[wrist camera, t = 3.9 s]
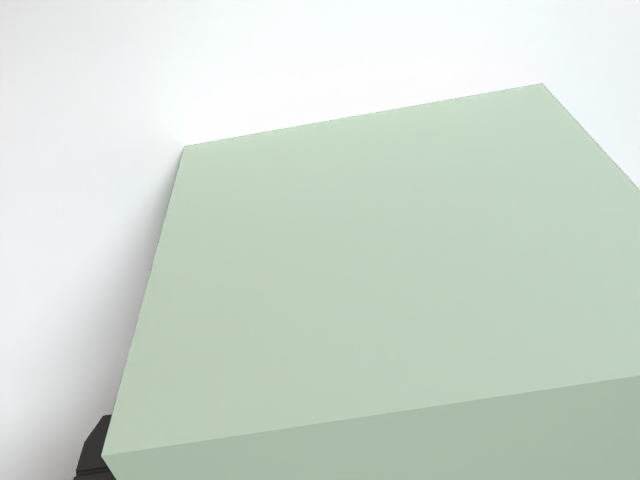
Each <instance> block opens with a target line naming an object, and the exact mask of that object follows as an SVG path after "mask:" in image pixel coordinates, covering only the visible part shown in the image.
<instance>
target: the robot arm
mask: <svg viewBox="0 0 640 480" xmlns="http://www.w3.org/2000/svg"><path fill="white" fill-rule="evenodd" d="M111 417H112V415H105V416H103V417H102V418H101V420H100V421H99V422H98V424H97V425H96V427H95V428H94V430H93V431H92V432H91V434H90V435H89V437H88V438H87V440H86V441H85V442H84V446H83V449H82V452H81V456H80V459H79V462H78V466H77V469H76V477H74V479H73V480H116V478H115V477H114V475H113V473H112V472H111V470H110V469H109V467H108V466H107V464H106V463H105V461H104V460H103V458H102V457H101V454H102V451H103V447H104V443H105V439H106V436H107V432H108V428H109V425H110V421H111Z"/></svg>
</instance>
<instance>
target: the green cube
mask: <svg viewBox="0 0 640 480" xmlns="http://www.w3.org/2000/svg"><path fill="white" fill-rule="evenodd" d="M101 457H102V458H103V460H104V461H105V463H106V464H107V466H108V467H109V469H110V470H111V472H112V473H113V475H114V477H115V478H116V480H640V190H639V188H638V187H637V186H636V185H635V184H634V183H633V182H632V181H631V180H630V179H629V177H628V176H627V175H626V174H625V173H624V172H623V171H622V170H621V169H620V168H619V167H618V165H617V164H616V163H615V162H614V161H613V160H612V159H611V158H610V157H609V156H608V155H607V153H606V152H605V151H604V150H603V149H602V148H601V147H600V146H599V145H598V144H597V142H596V141H595V140H594V139H593V138H592V137H591V136H590V135H589V134H588V133H587V132H586V130H585V129H584V128H583V127H582V126H581V125H580V124H579V123H578V122H577V121H576V120H575V118H574V117H573V116H572V115H571V114H570V113H569V112H568V111H567V110H566V109H565V108H564V106H563V105H562V104H561V103H560V102H559V101H558V100H557V99H556V98H555V97H554V95H553V94H552V93H551V92H550V91H549V90H548V89H547V88H546V87H545V86H544V85H543V83H540V84H535V85H529V86H523V87H518V88H512V89H506V90H501V91H495V92H489V93H484V94H478V95H472V96H466V97H461V98H455V99H449V100H444V101H438V102H432V103H427V104H421V105H415V106H410V107H404V108H398V109H393V110H387V111H381V112H376V113H370V114H364V115H359V116H353V117H347V118H342V119H336V120H330V121H324V122H319V123H313V124H307V125H302V126H296V127H290V128H285V129H279V130H273V131H268V132H262V133H256V134H251V135H245V136H239V137H234V138H228V139H222V140H217V141H211V142H205V143H199V144H194V145H188V146H184V149H183V153H182V157H181V161H180V164H179V168H178V172H177V175H176V179H175V183H174V187H173V190H172V194H171V198H170V202H169V205H168V209H167V213H166V216H165V220H164V224H163V228H162V231H161V235H160V239H159V242H158V246H157V250H156V254H155V257H154V261H153V265H152V268H151V272H150V276H149V280H148V283H147V287H146V291H145V294H144V298H143V302H142V306H141V309H140V313H139V317H138V321H137V324H136V328H135V332H134V335H133V339H132V343H131V347H130V350H129V354H128V358H127V361H126V365H125V369H124V373H123V376H122V380H121V384H120V387H119V391H118V395H117V399H116V402H115V406H114V410H113V413H112V417H111V421H110V425H109V428H108V432H107V436H106V439H105V443H104V447H103V451H102V454H101Z"/></svg>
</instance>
